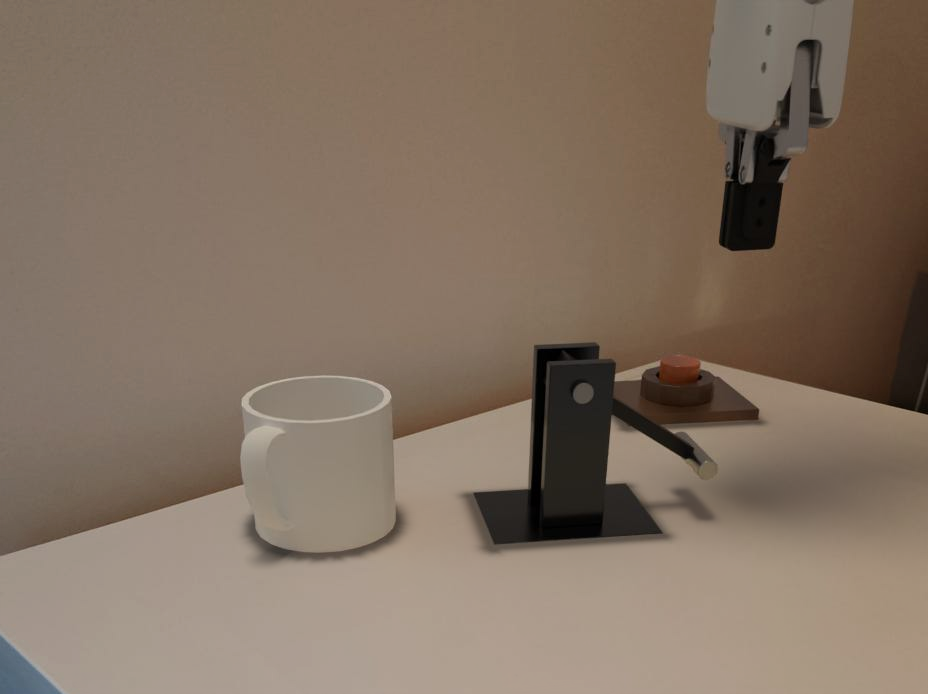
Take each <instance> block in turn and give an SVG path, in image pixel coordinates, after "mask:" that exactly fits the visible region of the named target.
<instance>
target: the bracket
mask: <svg viewBox="0 0 928 694" xmlns="http://www.w3.org/2000/svg"><path fill="white" fill-rule="evenodd" d="M600 348H601V347H600V345H599V344H598V343H597V342H596V341H593V342H569V343H545V344H544V343H543V344H534V345H533V360H532V381H531V382H532V383H531V385H532V386H531V408H530V409H531V411H530V430H529V432H530V433H529V454H528V455H529V457H528V461H529V462H528V479H527V480H528V481H527V483H528V484H527V488H525V489H509V490H507V489H506V490H492V491H476V492H475V491H474V492H473V493H472V494H473V496H474V499H475V501H476V503H477V506H478V509H479V511H480V514H481V516H482V518H483V521H484V523H485V526H486V528H487V531H488V533H489V536H490V538H491V540H492V543H493V545H495V546H497V545H510V544H524V543H526V544H527V543H541V542H542V543H543V542H554V541H555V542H556V541H568V540H569V541H570V540H572V541H573V540H584V539H603V538H614V537H615V538H617V537H629V536H631V537H633V536H646V535H647V536H648V535H662V534H664V532H663V531H662V529H661V528H660V527H659V525H658V524H657V522H656V521H655V519H653V517H652V516H651V514H650V513H649V512H648V511H647V510H646V508H645V506H644V505H643V504H642V503H641V501H640V500H639V499H638V498H637V496H636V495H635V493H634V492H633V491H632V489H631V488H630V486H629V485H628V484H627V483H610V484H609V483H608V484H607V475H608V473H607V472H608V464H609V452H610V451H609V450H610V440H611V429H612V428H611V427H612V417H613V415H612V405H613V394H614V382H615V381H616V380H615V379H616V370H617V369H616V368H617V362H616V361H615V360H614V359H613V358H600ZM562 350H563V351H565V352H566V353H568V354H570V355H571V356H573V357H574V358H576V359H577V360H571V361H556V359H557V358H558V356H559V355H560V353H561V352H562ZM545 376H546V384H545V383H544V381H543V379H544V377H545Z"/></svg>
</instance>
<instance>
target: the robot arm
mask: <svg viewBox="0 0 928 694" xmlns="http://www.w3.org/2000/svg"><path fill="white" fill-rule="evenodd" d="M854 3H855V0H716V2H715V10H714V16H713V21H712V22H713V23H712V30H711V38H710V45H709V53H708V63H707V72H706V89H705V109H706V111H707V113H708V114H709V116H710V117H711V118H712V119H713V120H714V121H716V122H717V123H718V131H717V133H718V138H719V139H720V140H721V141H722V143H724V145H725V149H724V150H725V151H724V152H725V153H724V166H723V167H724V168H723V174H724V179H725V182H724V190H723V200H722V207H721V216H720V225H719V235H718V244H719V246H720V247H722V248H724V249H727V250H728V251H730V252H743V251H762V250H771V249H772V248H773V247H774V246H775V244H776V239H777V231H778V224H779V218H780V209H781V202H782V195H783V190H784V189H783V188H784V183H786V182H787V179H788V176H789V172H790V167H791V162H792V158H793V159H794V158H796V157H798V156H801V155H804V154H806V152H807V150H808V147H809V130H810V129H817V130H818V129H820V130H821V129H828V128H829V127H831V126H832V125H833V124H834V123H835V122H836V121H837V119H838V118H839V115H840V113H841V109H842V102H843V96H844V89H845V81H846V74H847V67H848V58H849V48H850V41H851V32H852V31H851V30H852V24H853V23H852V22H853V15H854V14H853V12H854ZM776 122H778V123H779V124H776Z"/></svg>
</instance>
